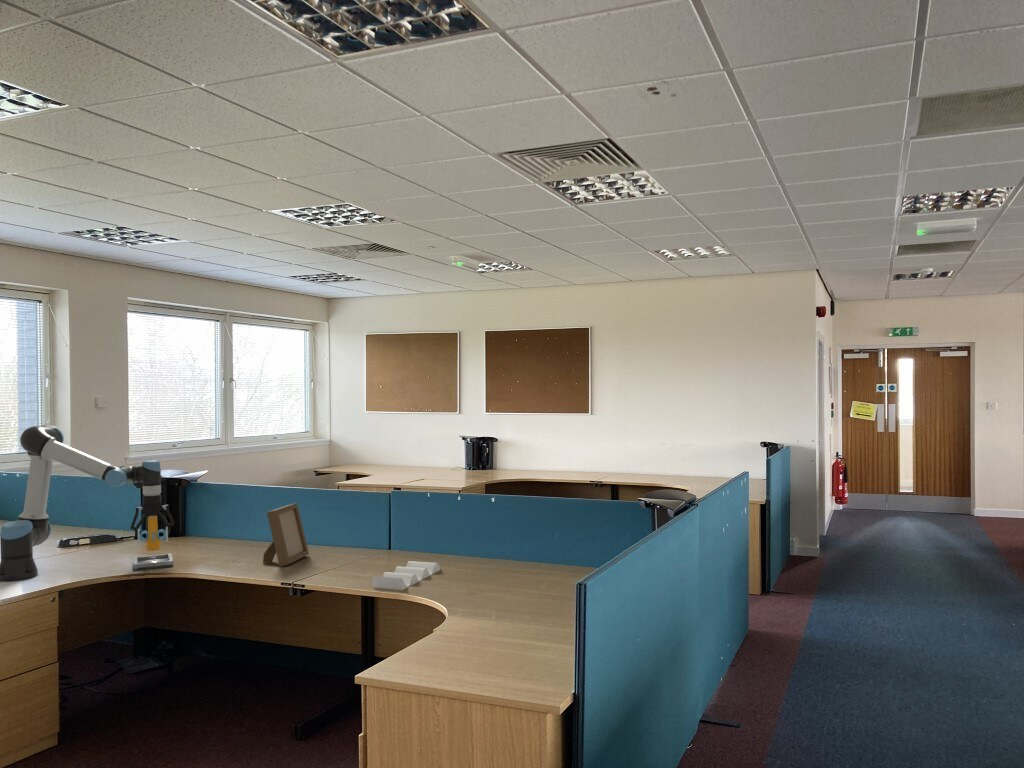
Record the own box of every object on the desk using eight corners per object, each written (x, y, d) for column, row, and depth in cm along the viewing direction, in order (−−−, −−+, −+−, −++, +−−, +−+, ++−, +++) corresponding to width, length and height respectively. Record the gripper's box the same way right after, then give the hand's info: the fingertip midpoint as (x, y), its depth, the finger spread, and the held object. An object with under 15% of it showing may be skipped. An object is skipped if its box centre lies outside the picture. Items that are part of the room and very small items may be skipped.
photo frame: (309, 556, 369) (308, 502, 369) (288, 566, 347) (287, 510, 347) (279, 555, 371) (278, 502, 371) (257, 566, 350) (256, 510, 350)
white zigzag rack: (441, 570, 337) (441, 558, 337) (402, 591, 304) (402, 578, 304) (414, 569, 342) (413, 557, 342) (372, 589, 309) (372, 576, 309)
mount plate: (133, 570, 345) (133, 564, 345) (133, 562, 361) (133, 557, 361) (173, 566, 352) (173, 560, 352) (171, 558, 368) (171, 553, 368)
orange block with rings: (172, 547, 361) (171, 514, 361) (159, 552, 351) (159, 518, 351) (147, 547, 363) (146, 514, 363) (134, 552, 352) (133, 518, 352)
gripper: (123, 497, 348) (124, 547, 348) (180, 493, 359) (181, 541, 358) (123, 495, 355) (124, 544, 355) (179, 491, 365) (180, 538, 365)
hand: (153, 542), depth 357 cm, fingers closed on orange block with rings, 11 cm apart
